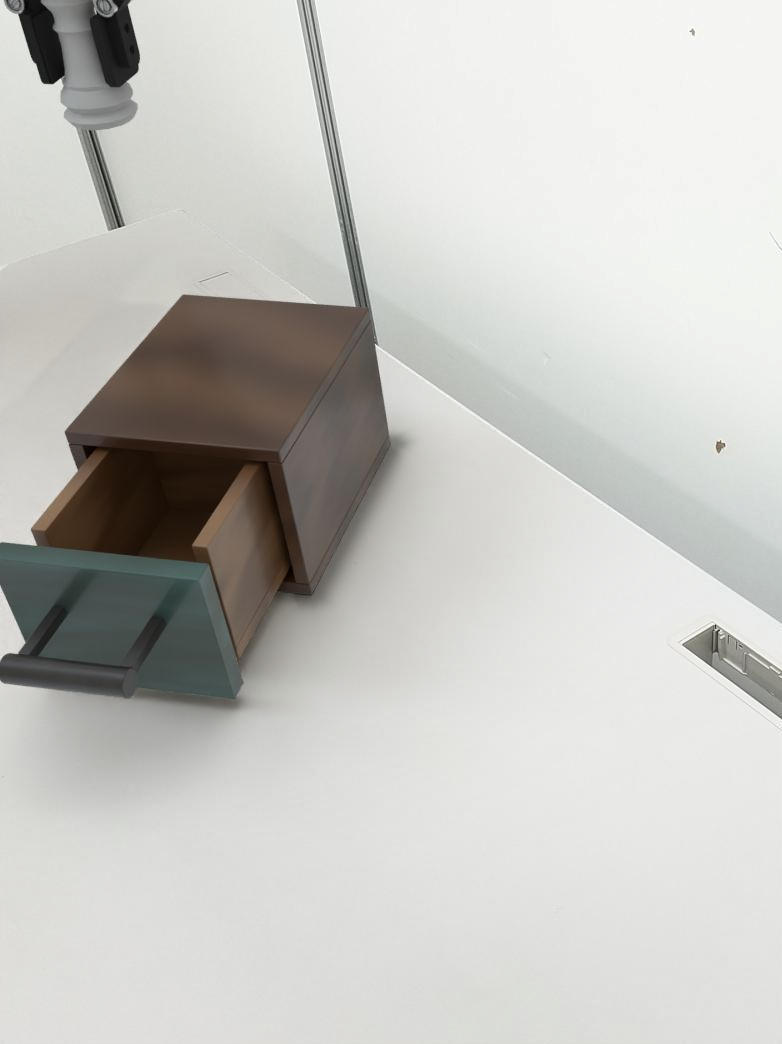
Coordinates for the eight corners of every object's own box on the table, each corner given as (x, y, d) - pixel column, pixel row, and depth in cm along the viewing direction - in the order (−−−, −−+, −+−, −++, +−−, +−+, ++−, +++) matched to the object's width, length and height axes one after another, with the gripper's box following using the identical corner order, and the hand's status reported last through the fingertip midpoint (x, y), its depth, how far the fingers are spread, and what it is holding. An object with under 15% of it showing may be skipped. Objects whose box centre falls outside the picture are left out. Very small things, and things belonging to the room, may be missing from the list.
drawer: (195, 772, 59) (153, 651, 54) (-10, 746, 60) (-71, 625, 55) (326, 530, 72) (302, 414, 67) (155, 513, 74) (119, 399, 68)
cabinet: (312, 595, 69) (279, 450, 63) (114, 574, 71) (63, 431, 65) (390, 444, 80) (369, 307, 74) (217, 428, 82) (182, 293, 75)
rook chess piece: (113, 135, 76) (74, -6, 71) (50, 128, 77) (7, -12, 72) (154, 109, 80) (120, -29, 74) (93, 101, 81) (55, -35, 75)
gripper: (-203, -280, 63) (-68, 95, 75) (110, -278, 61) (197, 107, 73) (-117, -301, 68) (-4, 51, 81) (173, -299, 66) (244, 62, 79)
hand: (90, 74), depth 77 cm, fingers closed on rook chess piece, 3 cm apart
